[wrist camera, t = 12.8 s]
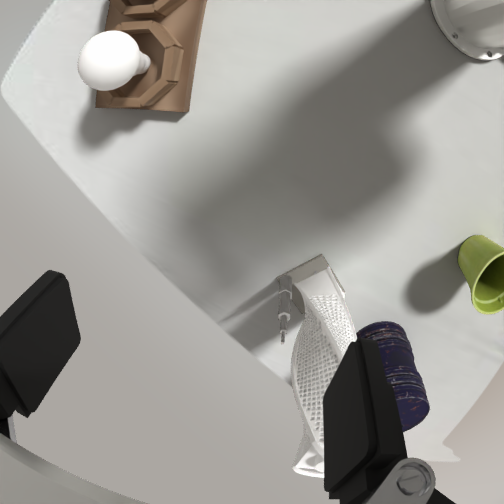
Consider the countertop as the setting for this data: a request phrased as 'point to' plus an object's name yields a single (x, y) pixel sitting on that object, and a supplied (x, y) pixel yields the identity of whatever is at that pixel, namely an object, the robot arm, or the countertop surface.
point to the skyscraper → (314, 348)
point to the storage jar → (400, 371)
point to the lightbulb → (111, 60)
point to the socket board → (157, 52)
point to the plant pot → (483, 273)
